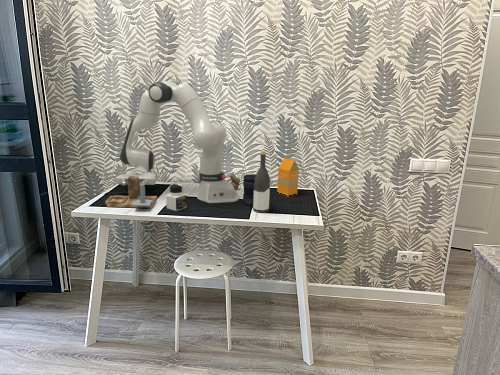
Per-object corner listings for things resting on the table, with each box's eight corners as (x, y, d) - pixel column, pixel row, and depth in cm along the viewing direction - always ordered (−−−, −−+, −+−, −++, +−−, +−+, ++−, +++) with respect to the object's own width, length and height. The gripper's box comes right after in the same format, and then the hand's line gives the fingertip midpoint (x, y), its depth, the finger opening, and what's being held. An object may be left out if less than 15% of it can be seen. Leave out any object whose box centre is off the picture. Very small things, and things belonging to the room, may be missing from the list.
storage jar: (262, 207, 207) (263, 179, 203) (242, 207, 207) (243, 178, 203) (261, 201, 217) (262, 174, 213) (242, 201, 217) (243, 173, 212)
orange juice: (287, 196, 227) (289, 161, 221) (276, 192, 233) (278, 158, 227) (297, 194, 231) (299, 159, 226) (286, 190, 238) (288, 156, 232)
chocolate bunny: (238, 191, 233) (238, 174, 230) (224, 190, 235) (224, 173, 232) (240, 188, 238) (240, 172, 235) (227, 187, 240) (227, 171, 237)
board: (158, 198, 216) (157, 194, 215) (153, 207, 203) (152, 202, 202) (113, 198, 215) (112, 193, 214) (105, 207, 201) (104, 201, 201)
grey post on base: (152, 201, 204) (151, 182, 201) (149, 206, 196) (148, 187, 194) (136, 200, 203) (136, 182, 200) (133, 205, 196) (132, 186, 193)
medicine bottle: (176, 211, 198) (175, 187, 195) (166, 208, 203) (165, 185, 199) (186, 207, 204) (186, 184, 201) (176, 204, 208) (176, 182, 205)
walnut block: (139, 196, 213) (138, 176, 210) (137, 199, 209) (136, 178, 206) (130, 196, 213) (129, 176, 210) (128, 199, 209) (127, 178, 206)
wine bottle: (257, 206, 209) (260, 148, 200) (271, 209, 205) (274, 150, 196) (249, 211, 202) (251, 151, 194) (264, 214, 198) (266, 153, 190)
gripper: (119, 170, 220) (111, 177, 207) (157, 171, 221) (152, 178, 208) (119, 182, 222) (112, 189, 208) (157, 182, 223) (153, 190, 210)
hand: (133, 183), depth 208 cm, fingers open, 8 cm apart
